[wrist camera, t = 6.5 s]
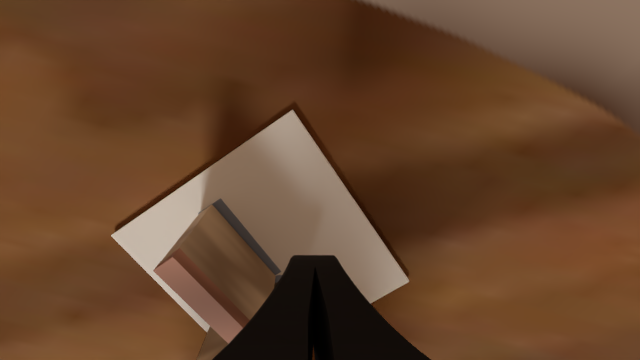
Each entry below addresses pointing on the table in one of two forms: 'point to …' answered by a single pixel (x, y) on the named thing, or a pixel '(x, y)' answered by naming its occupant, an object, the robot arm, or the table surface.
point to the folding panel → (217, 274)
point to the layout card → (271, 212)
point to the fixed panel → (212, 344)
